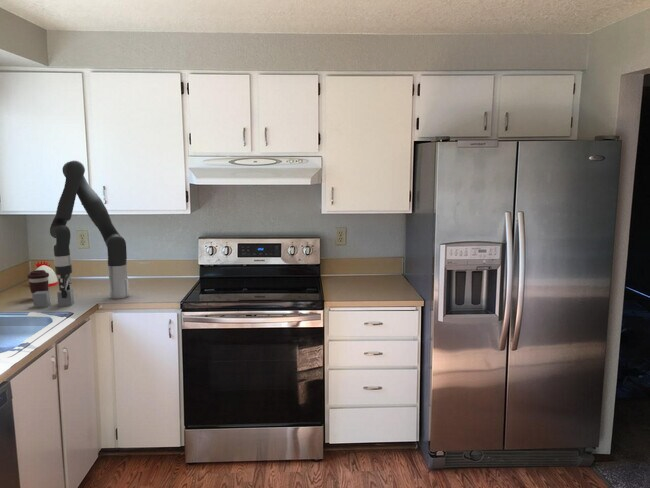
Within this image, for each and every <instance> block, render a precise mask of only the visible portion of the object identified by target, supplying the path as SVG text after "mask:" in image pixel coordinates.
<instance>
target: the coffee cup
mask: <svg viewBox="0 0 650 488" xmlns="http://www.w3.org/2000/svg"><path fill="white" fill-rule="evenodd" d="M35 270H36V269H35ZM35 270H32V271H30V273H29V274H27V275H26V276H27V279H28V280H29V281H28V283H29V288H30V293H31V298H32V300H33V294H34V293H35V292H37V291H49V287H48V276H49V273H46V271H45V270H36V271H35Z"/></svg>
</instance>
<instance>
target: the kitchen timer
mask: <svg viewBox="0 0 650 488" xmlns="http://www.w3.org/2000/svg"><path fill="white" fill-rule="evenodd" d="M48 262H49V261H46V260H45V259H43V260H40V261H39V260H37V263H36V262H35V263H34V264H35V266H36V269H35V270H34V271H36V270H45V271H46V273H49V276H48V288H50V287H54V286H57V285H59V280H58V279H59V278H58V275H56V272H55V271H54V270H53V268H52V267H51V264H52V263H51V262H50V263H49V265H48Z"/></svg>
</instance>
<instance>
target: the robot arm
mask: <svg viewBox="0 0 650 488" xmlns="http://www.w3.org/2000/svg"><path fill="white" fill-rule="evenodd" d="M85 171H86V169H85V165H84V164H83V163H82V162H81V161H79V160H70V161H67V162H65V163H64V164H63V166H62V174H63V176H64V177H65V182H64V187H63V190H62V192H61V195H60V197H59V200H58V202H57V208H56V211H55V212H56V213H55V216H54V218H53V220H52V222H51V224H50V228H49V234H50V236H51V237H53V239H55V241H56V243H55V244H54V246H53V255H54V261H53V262H54V270H55V271H54V272H55V274H56V276H60V277H59V278H57V279H58V288H59V289H58V290H59V291H61V295H62V298H67V292H66V290H71V285H72V280H71V279H72V278H71V274H72V273H73V265H72V258H71V248H70V244H71V230H70V228H69V227H68V226H67V223H68V222H69V221H70V220H71V219H72V215H73V212H74V207H75V201H76V197H78V199H79V201H80V203H81V205H82V207H83V208H84V210H85V212H86V214H87V215H88V217H89V218H90V221H91V222H92V223H93V224H94V225H95V227H96V228H97V229H98V231H99V232H100V234H101V236H102V238H103V241H104V243H105V246H106V249H107V270H108V271H107V272H108V283H109V298H110V299H125V298H128V297H129V296H130V286H129V277H128V268H127V267H128V266H127V265H128V264H127V260H128V257H127V242H126V240H125V238H124V237H123V236H122V235H121V234H120V233H119V232H118V231H117V229H116V227H115V226H114V224H113V223H112V220H111V217H110V214H109V212H108V209H107V207H106V206H105V204H104V202H103V201H102V199H101V197H100V196H99V195H98V193H96V191H95V190H94V189H93V188H92V187H91V185H90V184H89V183H88V182H87V179H86V177H85Z"/></svg>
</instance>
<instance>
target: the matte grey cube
mask: <svg viewBox="0 0 650 488" xmlns="http://www.w3.org/2000/svg"><path fill="white" fill-rule="evenodd" d="M66 292H67V298H62V295H61V291H60V290H59V291H57V305H58V306H57V307H71V306H73V305H74V303H75V298H74V289H71V288H70V290H66Z"/></svg>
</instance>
